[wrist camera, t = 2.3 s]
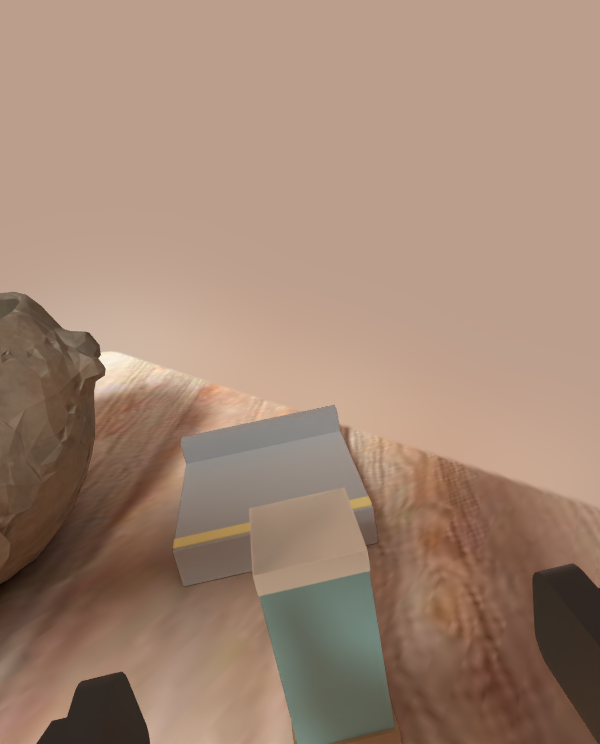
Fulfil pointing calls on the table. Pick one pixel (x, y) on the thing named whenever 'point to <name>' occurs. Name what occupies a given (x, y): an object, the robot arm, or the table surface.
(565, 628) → the robot arm
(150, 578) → the table surface
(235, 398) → the table surface
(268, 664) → the table surface
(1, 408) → the bowl
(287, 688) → the teal tall block
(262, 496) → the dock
